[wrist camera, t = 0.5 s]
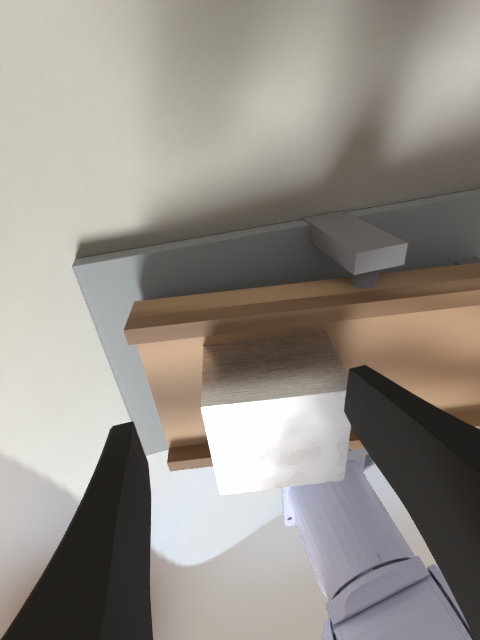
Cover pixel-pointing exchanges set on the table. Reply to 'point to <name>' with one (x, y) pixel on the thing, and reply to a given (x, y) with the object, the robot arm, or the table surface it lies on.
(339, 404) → the block
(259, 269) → the pivot stand
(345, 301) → the beam
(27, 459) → the table surface
